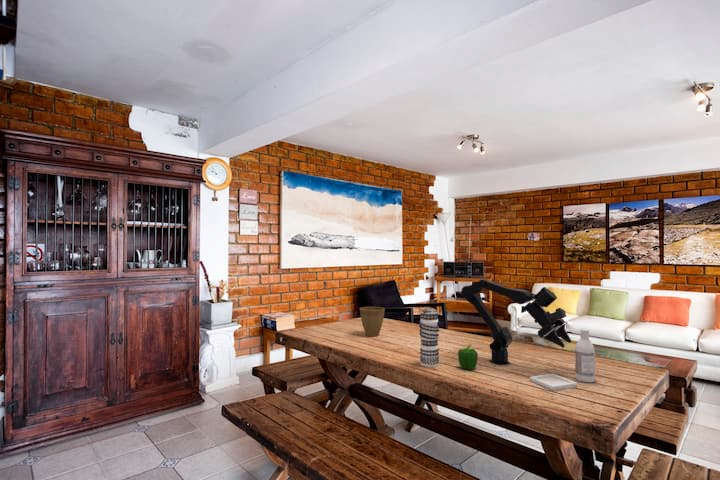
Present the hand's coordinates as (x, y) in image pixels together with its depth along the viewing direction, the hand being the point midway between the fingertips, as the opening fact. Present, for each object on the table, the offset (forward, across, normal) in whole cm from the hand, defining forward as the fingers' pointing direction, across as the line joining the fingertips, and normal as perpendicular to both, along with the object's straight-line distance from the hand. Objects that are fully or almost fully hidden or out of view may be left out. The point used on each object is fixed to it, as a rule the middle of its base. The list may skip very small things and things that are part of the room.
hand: (567, 344), depth 163 cm
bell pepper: (-16, -17, +34) cm, 41 cm away
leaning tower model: (-27, -23, +45) cm, 58 cm away
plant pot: (-67, +2, +85) cm, 108 cm away
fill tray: (+8, -13, +10) cm, 19 cm away
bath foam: (+14, 0, +5) cm, 15 cm away
